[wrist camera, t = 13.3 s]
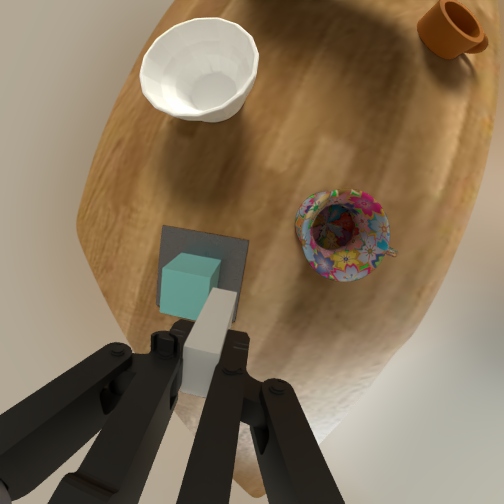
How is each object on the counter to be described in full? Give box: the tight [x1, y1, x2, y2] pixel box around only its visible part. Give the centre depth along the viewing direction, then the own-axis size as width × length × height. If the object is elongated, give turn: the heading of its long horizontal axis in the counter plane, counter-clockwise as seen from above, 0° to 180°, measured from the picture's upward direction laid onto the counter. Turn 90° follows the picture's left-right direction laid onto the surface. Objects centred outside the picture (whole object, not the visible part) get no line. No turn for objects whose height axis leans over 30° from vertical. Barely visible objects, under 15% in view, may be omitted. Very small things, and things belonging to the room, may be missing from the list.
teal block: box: [160, 253, 221, 320], centre depth 35 cm, size 6×6×8 cm
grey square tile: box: [156, 225, 249, 322], centre depth 36 cm, size 12×12×6 cm
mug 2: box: [417, 0, 488, 60], centre depth 24 cm, size 9×12×9 cm
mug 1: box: [295, 189, 398, 282], centre depth 31 cm, size 12×9×11 cm
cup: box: [139, 18, 259, 122], centre depth 28 cm, size 12×12×11 cm
